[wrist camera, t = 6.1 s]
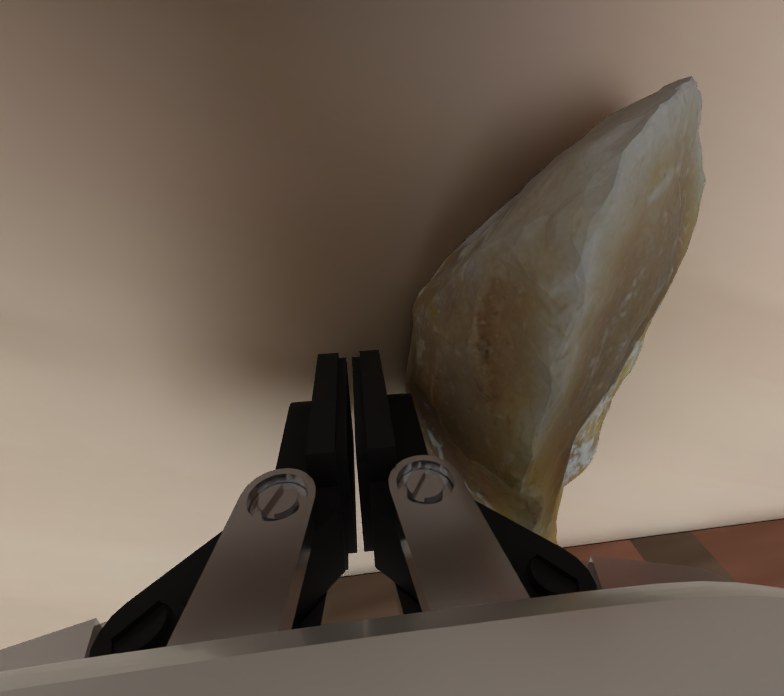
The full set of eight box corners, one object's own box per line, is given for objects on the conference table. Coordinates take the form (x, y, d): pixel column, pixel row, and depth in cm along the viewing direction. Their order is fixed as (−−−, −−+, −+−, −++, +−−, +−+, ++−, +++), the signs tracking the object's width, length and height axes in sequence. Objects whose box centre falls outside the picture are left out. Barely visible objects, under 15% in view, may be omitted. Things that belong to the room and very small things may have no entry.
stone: (1130, -21, 3) (661, 771, 9) (710, 106, 9) (585, 546, 15) (353, 32, 5) (378, 710, 11) (415, 115, 10) (408, 522, 16)
